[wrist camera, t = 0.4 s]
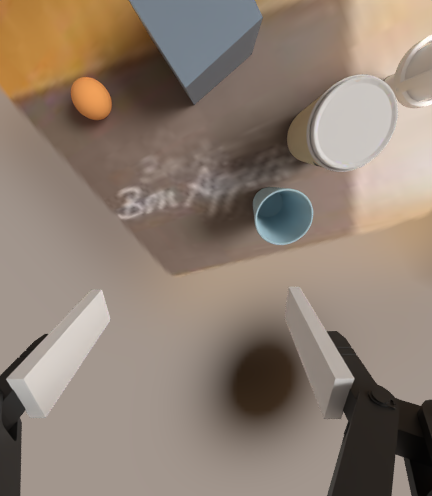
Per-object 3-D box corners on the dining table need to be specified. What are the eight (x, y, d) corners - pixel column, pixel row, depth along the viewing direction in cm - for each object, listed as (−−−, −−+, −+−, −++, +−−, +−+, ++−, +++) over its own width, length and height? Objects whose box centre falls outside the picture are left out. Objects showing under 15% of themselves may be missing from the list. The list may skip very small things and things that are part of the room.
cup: (299, 201, 38) (325, 216, 28) (266, 231, 40) (281, 255, 31) (270, 170, 36) (287, 176, 27) (238, 204, 38) (243, 220, 29)
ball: (81, 82, 32) (58, 69, 27) (115, 85, 32) (98, 73, 27) (87, 121, 34) (66, 115, 29) (119, 123, 34) (103, 118, 29)
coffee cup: (291, 177, 36) (322, 186, 25) (273, 119, 33) (299, 101, 22) (347, 151, 35) (407, 148, 24) (333, 88, 32) (394, 51, 20)
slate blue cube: (148, 33, 30) (121, -13, 21) (208, -29, 27) (202, -109, 19) (194, 105, 33) (185, 88, 25) (251, 54, 30) (262, 17, 22)
